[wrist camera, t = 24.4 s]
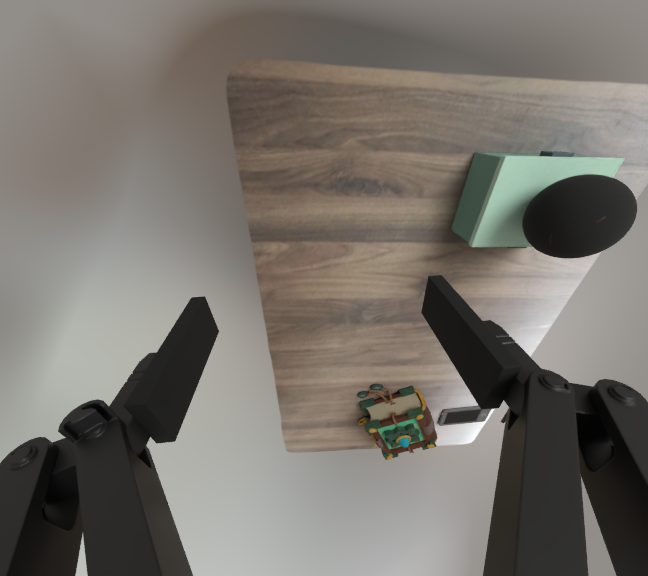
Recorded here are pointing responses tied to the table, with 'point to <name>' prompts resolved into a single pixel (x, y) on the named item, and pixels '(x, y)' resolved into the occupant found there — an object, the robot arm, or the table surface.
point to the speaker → (579, 216)
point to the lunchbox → (514, 192)
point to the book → (398, 421)
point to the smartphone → (463, 415)
